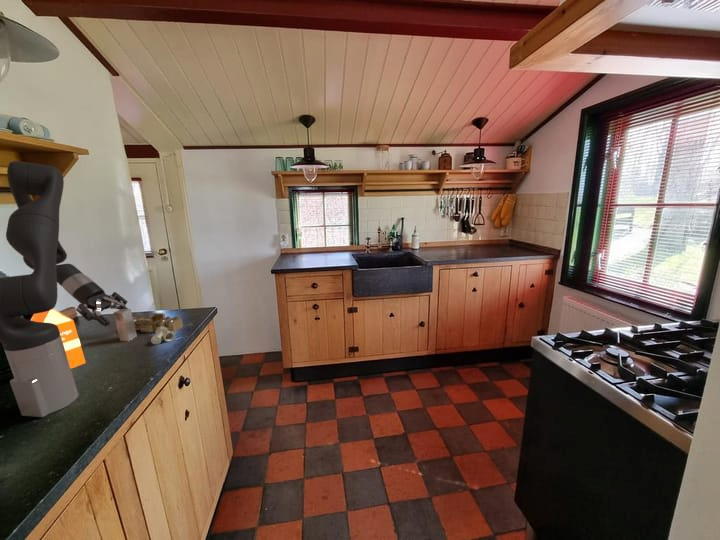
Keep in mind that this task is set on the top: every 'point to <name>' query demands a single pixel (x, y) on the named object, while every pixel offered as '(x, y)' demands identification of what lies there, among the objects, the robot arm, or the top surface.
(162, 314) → the gold block with rollers
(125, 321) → the square grey block
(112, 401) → the top surface
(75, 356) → the orange juice
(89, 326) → the top surface
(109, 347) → the top surface
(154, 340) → the pipe fitting
